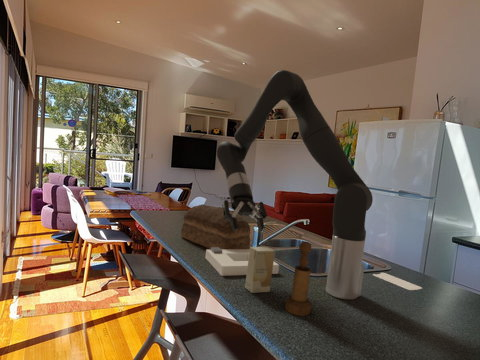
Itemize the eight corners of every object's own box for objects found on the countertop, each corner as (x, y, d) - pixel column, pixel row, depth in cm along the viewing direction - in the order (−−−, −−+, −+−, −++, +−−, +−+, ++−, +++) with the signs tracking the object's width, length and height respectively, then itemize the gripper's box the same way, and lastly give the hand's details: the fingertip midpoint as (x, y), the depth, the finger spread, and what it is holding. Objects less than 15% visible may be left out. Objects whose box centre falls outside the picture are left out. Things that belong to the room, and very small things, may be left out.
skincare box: (251, 293, 101) (256, 251, 100) (244, 287, 105) (248, 246, 104) (271, 291, 104) (275, 250, 103) (263, 286, 108) (267, 246, 107)
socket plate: (255, 256, 137) (257, 246, 137) (278, 273, 121) (279, 262, 120) (205, 257, 130) (206, 246, 129) (221, 275, 113) (222, 263, 113)
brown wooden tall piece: (310, 318, 90) (318, 247, 88) (284, 313, 91) (292, 243, 90) (310, 307, 96) (318, 241, 95) (286, 302, 97) (293, 237, 96)
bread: (203, 233, 166) (207, 199, 165) (253, 252, 143) (257, 213, 142) (176, 236, 156) (180, 200, 154) (226, 257, 133) (230, 215, 132)
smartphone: (424, 289, 121) (382, 273, 134) (425, 288, 121) (383, 271, 134) (411, 293, 117) (369, 275, 130) (412, 291, 117) (370, 274, 130)
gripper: (222, 180, 117) (231, 223, 108) (262, 183, 123) (274, 224, 113) (216, 194, 123) (223, 236, 113) (254, 196, 128) (264, 236, 118)
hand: (249, 230), depth 113 cm, fingers open, 8 cm apart
